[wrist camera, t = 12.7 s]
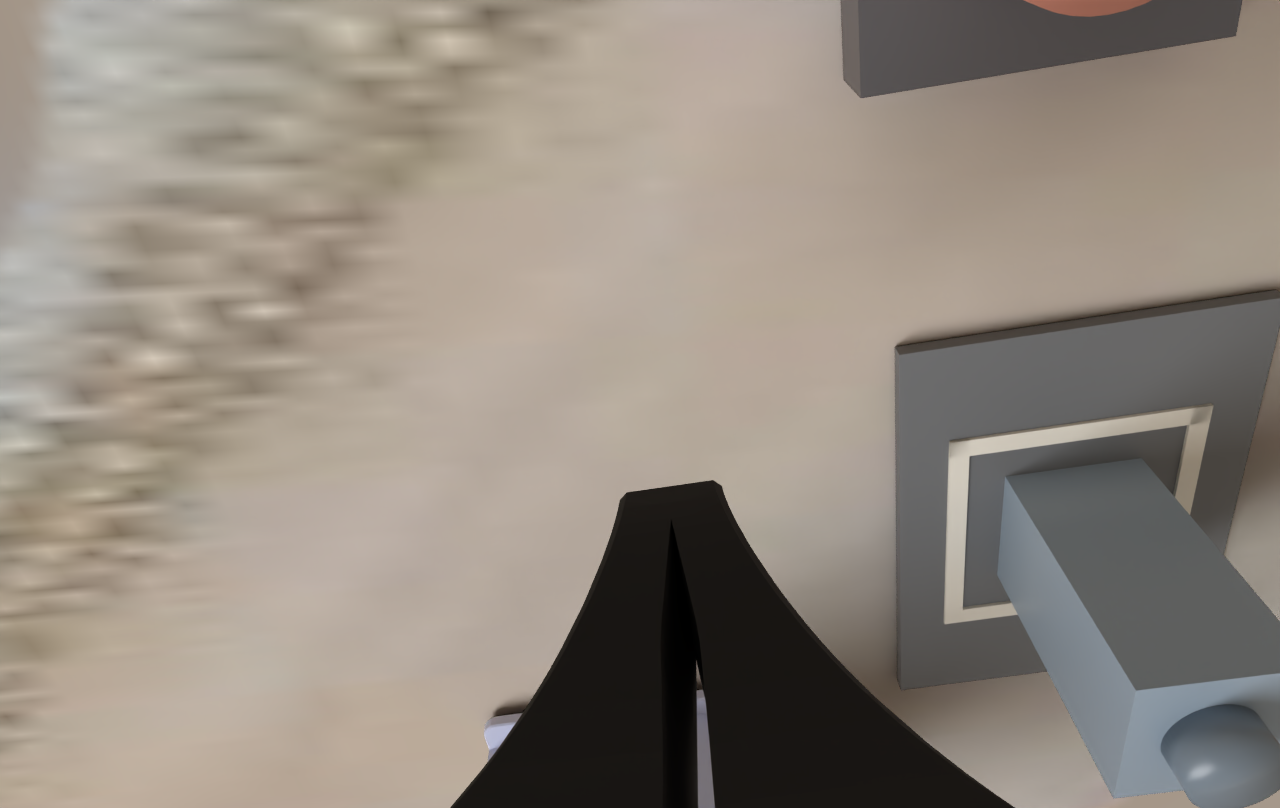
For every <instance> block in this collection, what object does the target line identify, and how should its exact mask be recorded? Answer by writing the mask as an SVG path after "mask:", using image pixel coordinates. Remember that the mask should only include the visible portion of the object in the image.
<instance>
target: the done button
mask: <svg viewBox="0 0 1280 808" xmlns="http://www.w3.org/2000/svg"><path fill="white" fill-rule="evenodd" d="M1024 1H1026V2H1029V3H1031V4H1034V5H1036V6H1038V7H1041V8H1044V9H1046V10H1049V11H1052V12H1055V13H1059V14H1064V15H1070V16H1084V17H1092V16H1102V15H1109V14H1114V13H1118V12H1122V11H1126V10H1129V9H1132V8H1134V7H1137V6H1140V5H1143V4H1145V3H1147V2H1149V1H1151V0H1024Z"/></svg>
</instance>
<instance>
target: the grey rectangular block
mask: <svg viewBox="0 0 1280 808" xmlns="http://www.w3.org/2000/svg"><path fill="white" fill-rule="evenodd" d="M997 576H998V578H999V579H1000V581H1001V583H1002V585H1003V587H1004V589H1005V591H1006V593H1007V595H1008V597H1009V599H1010V601H1011V603H1012V604H1013V606H1014V608H1015V610H1016V612H1017V614H1018V616H1019V618H1020V620H1021V622H1022V624H1023V626H1024V628H1025V629H1026V631H1027V633H1028V635H1029V637H1030V639H1031V641H1032V643H1033V645H1034V647H1035V649H1036V651H1037V653H1038V654H1039V656H1040V658H1041V660H1042V662H1043V664H1044V666H1045V668H1046V670H1047V672H1048V674H1049V676H1050V678H1051V679H1052V681H1053V683H1054V685H1055V687H1056V689H1057V691H1058V693H1059V695H1060V697H1061V699H1062V701H1063V702H1064V704H1065V706H1066V708H1067V710H1068V712H1069V714H1070V716H1071V718H1072V720H1073V722H1074V724H1075V726H1076V727H1077V729H1078V731H1079V733H1080V735H1081V737H1082V739H1083V741H1084V743H1085V745H1086V747H1087V749H1088V751H1089V752H1090V754H1091V756H1092V758H1093V760H1094V762H1095V764H1096V766H1097V768H1098V770H1099V772H1100V774H1101V776H1102V777H1103V779H1104V781H1105V783H1106V785H1107V787H1108V789H1109V791H1110V793H1111V795H1112V797H1113V798H1121V797H1130V796H1139V795H1147V794H1156V793H1165V792H1173V791H1181V790H1184V792H1185V793H1186V795H1187V797H1188V798H1189V800H1190V801H1191V802H1192V803H1193V804H1194V805H1196V806H1198V807H1200V808H1244V807H1247V806H1250V805H1253V804H1256V803H1258V802H1260V801H1262V800H1264V799H1266V798H1268V797H1270V796H1271V795H1273V794H1274V793H1276V792H1277V791H1278V790H1279V789H1280V621H1279V620H1278V619H1277V618H1276V616H1275V615H1274V614H1273V613H1272V612H1271V610H1270V609H1269V608H1268V607H1267V606H1266V605H1265V603H1264V602H1263V601H1262V600H1261V599H1260V597H1259V596H1258V595H1257V594H1256V593H1255V592H1254V590H1253V589H1252V588H1251V587H1250V586H1249V584H1248V583H1247V582H1246V581H1245V580H1244V579H1243V577H1242V576H1241V575H1240V574H1239V573H1238V571H1237V570H1236V569H1235V568H1234V567H1233V566H1232V564H1231V563H1230V562H1229V561H1228V560H1227V558H1226V557H1225V556H1224V555H1223V554H1222V553H1221V551H1220V550H1219V549H1218V548H1217V547H1216V545H1215V544H1214V543H1213V542H1212V541H1211V540H1210V538H1209V537H1208V536H1207V535H1206V534H1205V532H1204V531H1203V530H1202V529H1201V528H1200V527H1199V525H1198V524H1197V523H1196V522H1195V521H1194V519H1193V518H1192V517H1191V516H1190V515H1189V514H1188V512H1187V511H1186V510H1185V509H1184V508H1183V506H1182V505H1181V504H1180V503H1179V502H1178V501H1177V499H1176V498H1175V497H1174V496H1173V495H1172V493H1171V492H1170V491H1169V490H1168V489H1167V488H1166V486H1165V485H1164V484H1163V483H1162V482H1161V480H1160V479H1159V478H1158V477H1157V476H1156V474H1155V473H1154V472H1153V471H1152V470H1151V469H1150V467H1149V466H1148V465H1147V464H1146V463H1145V461H1144V460H1143V459H1142V458H1139V459H1131V460H1124V461H1116V462H1109V463H1102V464H1094V465H1087V466H1080V467H1072V468H1065V469H1057V470H1050V471H1043V472H1035V473H1028V474H1021V475H1013V476H1006V477H1005V484H1004V497H1003V509H1002V521H1001V534H1000V546H999V559H998V571H997Z"/></svg>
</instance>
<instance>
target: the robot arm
mask: <svg viewBox="0 0 1280 808" xmlns="http://www.w3.org/2000/svg"><path fill="white" fill-rule="evenodd" d="M696 660H697V665H698V669H699V674H700V678H701V683H702V688H703V690H697V681H696ZM484 737H485V740H486V742H487V745H488V748H489V755H488V763H487V764H486V765H485V766H484V768H483V769H482V770H481V772H480V773H479V774H478V775H477V776H476V778H475V779H474V780H473V781H472V782H471V784H470V785H469V786H468V787H467V788H466V790H465V791H464V792H463V793H462V794H461V796H460V797H459V798H458V799H457V800H456V802H455V803H454V804H453V805H452V806H451V808H1015V807H1013V806H1012V805H1010V804H1009V803H1007V802H1006V801H1004V800H1003V799H1001V798H1000V797H998V796H997V795H996V794H994V793H993V792H991V791H990V790H989V789H987V788H986V787H984V786H983V785H982V784H980V783H979V782H978V781H976V780H975V779H973V778H972V777H971V776H969V775H968V774H966V773H965V772H964V771H963V770H961V769H960V768H959V767H957V766H956V765H955V764H954V763H952V762H951V761H950V760H948V759H947V758H946V757H945V756H943V755H942V754H941V753H940V752H938V751H937V750H936V749H934V748H933V747H932V746H931V745H929V744H928V743H927V742H926V741H924V740H923V739H922V738H921V737H920V736H919V735H918V734H916V733H915V732H914V731H913V730H912V729H911V728H910V727H908V726H907V725H906V724H905V723H904V722H903V721H902V720H901V719H899V718H898V717H897V716H896V715H895V714H894V713H893V712H891V711H890V710H889V709H888V708H887V707H886V706H885V705H883V704H882V703H881V702H880V701H879V700H878V699H877V698H875V697H874V696H873V695H872V694H871V693H870V692H869V691H868V690H867V689H866V688H865V687H864V686H863V685H862V684H861V683H860V682H859V681H858V680H857V679H856V678H855V677H854V676H853V675H852V674H851V673H850V672H849V671H848V670H847V669H846V668H845V667H844V666H843V665H842V664H841V663H840V661H839V660H838V659H837V658H836V657H835V656H834V655H833V654H832V653H831V652H830V651H829V650H828V649H827V647H826V646H825V645H824V644H823V643H822V642H821V641H820V640H819V638H818V637H817V636H816V635H815V634H814V633H813V631H812V630H811V629H810V628H809V627H808V625H807V624H806V623H805V622H804V621H803V619H802V618H801V617H800V616H799V614H798V613H797V612H796V610H795V609H794V608H793V607H792V605H791V604H790V603H789V602H788V600H787V599H786V598H785V596H784V595H783V594H782V592H781V591H780V590H779V588H778V587H777V585H776V584H775V583H774V581H773V580H772V578H771V577H770V575H769V574H768V572H767V571H766V569H765V568H764V566H763V565H762V563H761V562H760V561H759V559H758V558H757V556H756V555H755V553H754V551H753V550H752V548H751V547H750V545H749V543H748V542H747V540H746V538H745V536H744V535H743V533H742V531H741V529H740V528H739V526H738V524H737V522H736V520H735V518H734V516H733V514H732V512H731V510H730V508H729V506H728V503H727V501H726V498H725V495H724V493H723V489H722V486H721V485H719V484H718V483H716V482H715V481H713V480H711V481H704V482H697V483H690V484H683V485H676V486H669V487H662V488H655V489H648V490H641V491H634V492H627V493H626V494H625V495H624V496H623V497H622V498H621V500H620V503H619V508H618V512H617V516H616V519H615V523H614V527H613V530H612V533H611V536H610V539H609V542H608V545H607V548H606V550H605V553H604V556H603V559H602V561H601V564H600V566H599V569H598V571H597V573H596V576H595V578H594V581H593V583H592V585H591V588H590V590H589V593H588V595H587V597H586V600H585V602H584V604H583V606H582V608H581V610H580V612H579V614H578V616H577V618H576V620H575V622H574V624H573V626H572V628H571V630H570V632H569V634H568V636H567V638H566V640H565V642H564V644H563V646H562V648H561V650H560V652H559V654H558V656H557V658H556V659H555V661H554V663H553V665H552V666H551V668H550V670H549V672H548V673H547V675H546V677H545V679H544V680H543V682H542V684H541V685H540V687H539V688H538V690H537V692H536V693H535V695H534V696H533V698H532V700H531V701H530V703H529V704H528V706H527V707H526V709H525V710H524V712H523V713H518V714H511V715H503V716H497V717H493V718H491V719H489V720H488V721H487V722H486V724H485V730H484Z"/></svg>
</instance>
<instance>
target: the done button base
mask: <svg viewBox="0 0 1280 808" xmlns="http://www.w3.org/2000/svg"><path fill="white" fill-rule="evenodd" d="M1241 5H1242V0H1151V1H1149V2H1147V3H1145V4H1143V5H1140V6H1137V7H1134V8H1132V9H1129V10H1126V11H1122V12H1118V13H1114V14H1109V15H1102V16H1092V17H1084V16H1070V15H1064V14H1059V13H1055V12H1052V11H1049V10H1046V9H1044V8H1041V7H1038V6H1036V5H1034V4H1031V3H1029V2H1026V1H1024V0H841V22H842V49H843V77H844V81H845V82H846V83H847V84H848V85H849V86H850V87H851V88H852V90H853V91H854V92H855V93H856V94H857V95H858V96H859V97H860V98H865V97H871V96H877V95H883V94H890V93H896V92H902V91H908V90H914V89H920V88H926V87H932V86H938V85H944V84H950V83H956V82H962V81H968V80H974V79H980V78H986V77H992V76H998V75H1004V74H1010V73H1016V72H1022V71H1028V70H1034V69H1040V68H1046V67H1052V66H1058V65H1064V64H1070V63H1076V62H1082V61H1088V60H1094V59H1100V58H1106V57H1112V56H1118V55H1124V54H1130V53H1137V52H1143V51H1149V50H1155V49H1161V48H1167V47H1173V46H1179V45H1185V44H1191V43H1197V42H1203V41H1209V40H1215V39H1221V38H1227V37H1233V36H1236V32H1237V26H1238V21H1239V15H1240V10H1241Z"/></svg>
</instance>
